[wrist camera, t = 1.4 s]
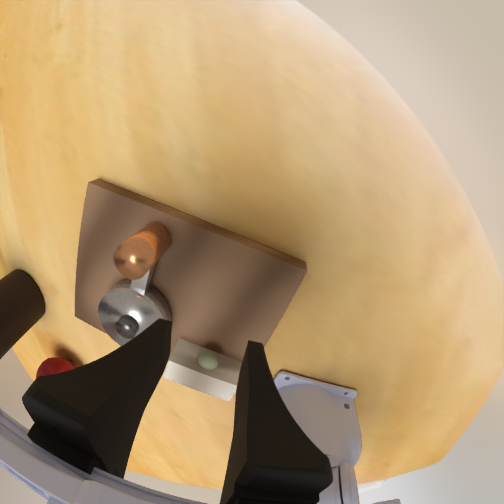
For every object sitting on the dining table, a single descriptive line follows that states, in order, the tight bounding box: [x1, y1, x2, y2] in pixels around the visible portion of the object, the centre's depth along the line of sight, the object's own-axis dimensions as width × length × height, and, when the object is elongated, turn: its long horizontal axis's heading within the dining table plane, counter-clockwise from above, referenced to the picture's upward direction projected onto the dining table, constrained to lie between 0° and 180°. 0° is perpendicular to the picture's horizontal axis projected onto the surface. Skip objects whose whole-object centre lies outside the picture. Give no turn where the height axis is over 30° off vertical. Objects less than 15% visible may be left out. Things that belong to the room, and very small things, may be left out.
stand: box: [75, 179, 307, 401], centre depth 21 cm, size 18×14×4 cm
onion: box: [36, 357, 75, 379], centre depth 26 cm, size 6×6×8 cm
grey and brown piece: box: [98, 223, 171, 346], centre depth 20 cm, size 11×6×4 cm, turn 158°
